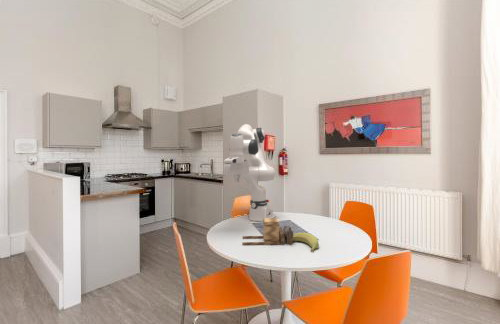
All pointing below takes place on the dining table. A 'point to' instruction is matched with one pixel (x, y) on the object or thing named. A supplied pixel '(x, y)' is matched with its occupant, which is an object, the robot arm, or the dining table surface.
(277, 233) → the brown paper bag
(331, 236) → the dining table surface
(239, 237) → the dining table surface
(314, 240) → the banana
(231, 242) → the dining table surface
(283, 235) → the wooden rack
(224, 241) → the dining table surface
